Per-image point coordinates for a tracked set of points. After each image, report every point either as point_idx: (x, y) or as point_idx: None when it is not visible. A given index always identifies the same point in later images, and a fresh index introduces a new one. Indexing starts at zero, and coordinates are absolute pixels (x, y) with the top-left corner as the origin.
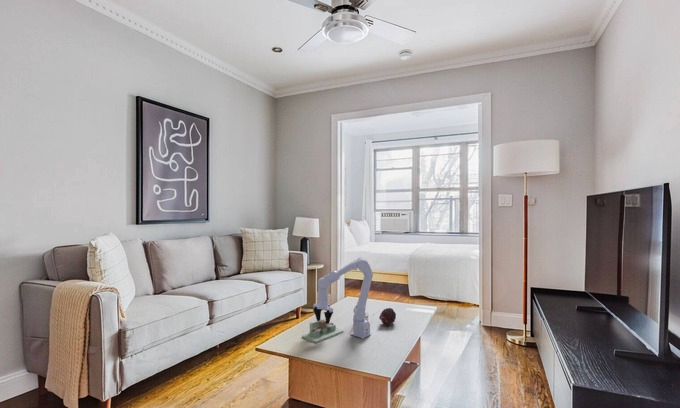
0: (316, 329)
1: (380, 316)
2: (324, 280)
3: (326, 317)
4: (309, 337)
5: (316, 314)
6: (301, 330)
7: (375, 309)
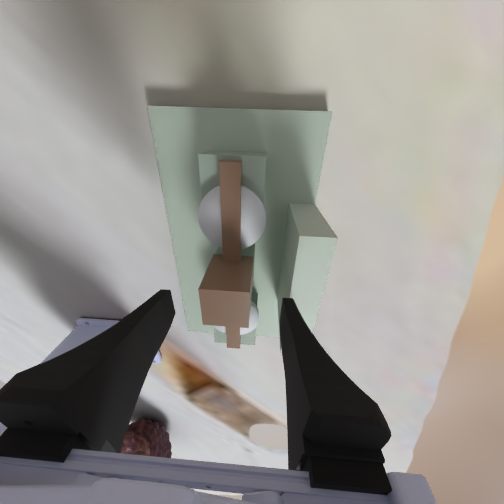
0: (221, 205)
1: (141, 452)
2: None
3: (101, 337)
4: (250, 130)
5: (295, 350)
6: (413, 218)
7: (270, 467)
